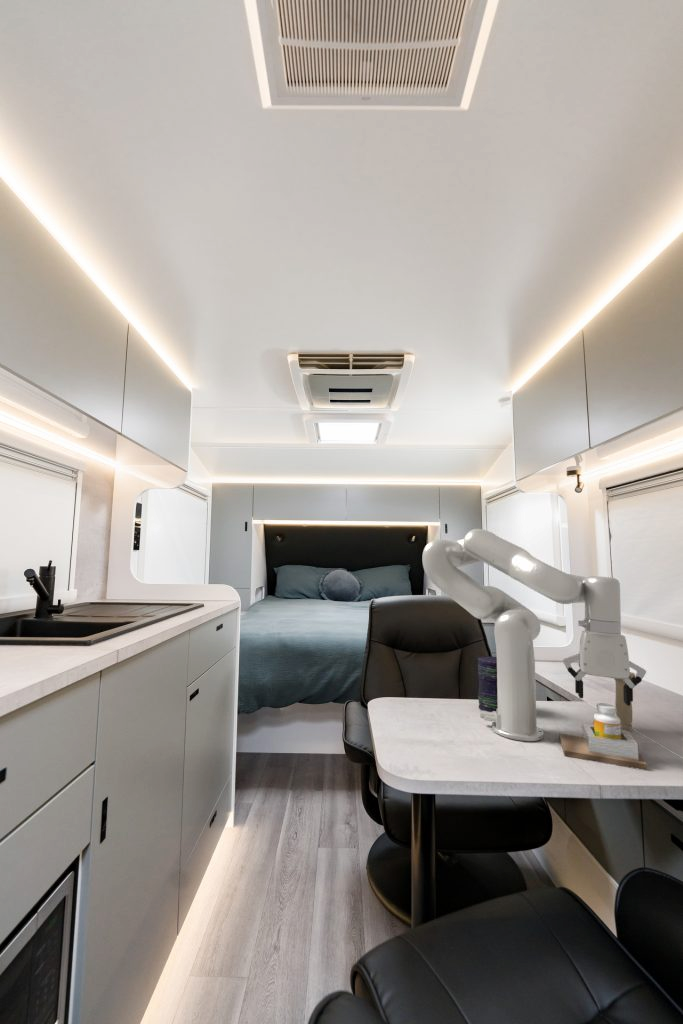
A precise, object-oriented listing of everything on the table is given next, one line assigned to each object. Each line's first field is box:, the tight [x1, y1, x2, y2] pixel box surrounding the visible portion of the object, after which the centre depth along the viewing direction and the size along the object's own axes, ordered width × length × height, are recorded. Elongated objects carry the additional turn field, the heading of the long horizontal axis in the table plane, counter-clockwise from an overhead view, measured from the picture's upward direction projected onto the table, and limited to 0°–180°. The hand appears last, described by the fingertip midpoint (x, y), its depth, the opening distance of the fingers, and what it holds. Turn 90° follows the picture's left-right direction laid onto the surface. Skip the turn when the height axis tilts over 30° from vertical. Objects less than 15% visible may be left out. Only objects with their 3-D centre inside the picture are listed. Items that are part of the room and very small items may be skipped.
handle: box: [613, 671, 636, 731], centre depth 119 cm, size 5×6×15 cm
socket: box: [581, 723, 639, 761], centre depth 100 cm, size 10×10×4 cm
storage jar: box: [477, 655, 498, 712], centre depth 132 cm, size 10×10×15 cm
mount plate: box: [558, 732, 648, 771], centre depth 101 cm, size 16×12×1 cm
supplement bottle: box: [593, 702, 621, 739], centre depth 101 cm, size 5×5×10 cm
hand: (603, 700), depth 102 cm, fingers open, 9 cm apart
